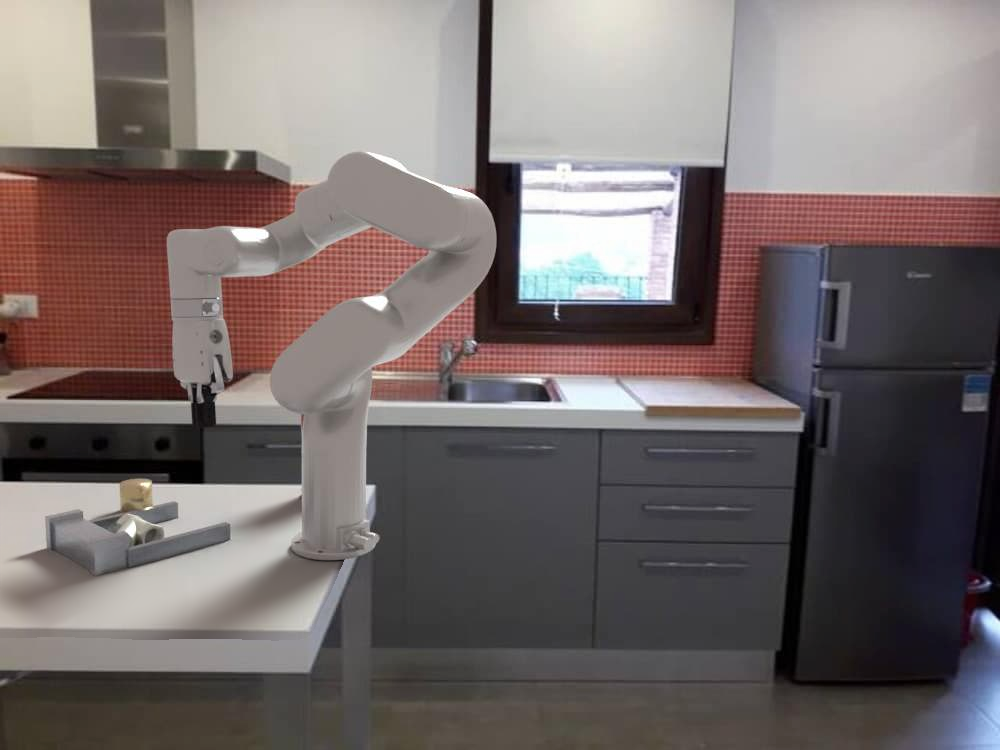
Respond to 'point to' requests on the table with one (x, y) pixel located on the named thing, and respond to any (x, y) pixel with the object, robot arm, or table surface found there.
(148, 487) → the cylinder
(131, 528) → the pipe fitting
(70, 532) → the pipe jig
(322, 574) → the table surface
